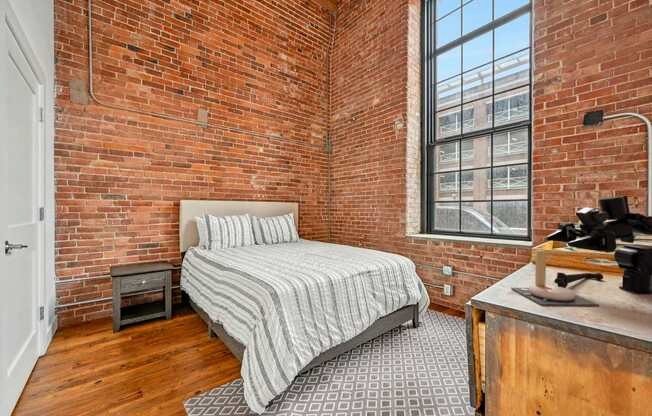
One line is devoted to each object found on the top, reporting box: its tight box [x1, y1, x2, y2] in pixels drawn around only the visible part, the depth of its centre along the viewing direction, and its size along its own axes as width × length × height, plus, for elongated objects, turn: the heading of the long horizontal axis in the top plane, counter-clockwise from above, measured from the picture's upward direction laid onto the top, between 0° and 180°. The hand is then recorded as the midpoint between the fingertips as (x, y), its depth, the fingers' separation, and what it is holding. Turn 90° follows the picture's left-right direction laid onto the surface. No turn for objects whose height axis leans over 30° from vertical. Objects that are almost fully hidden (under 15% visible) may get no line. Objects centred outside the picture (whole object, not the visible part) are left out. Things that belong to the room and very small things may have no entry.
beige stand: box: [528, 249, 576, 301], centre depth 89 cm, size 11×11×12 cm
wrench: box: [553, 272, 604, 288], centre depth 100 cm, size 5×5×30 cm
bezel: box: [510, 287, 600, 307], centre depth 89 cm, size 15×15×1 cm
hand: (557, 241), depth 94 cm, fingers open, 9 cm apart
